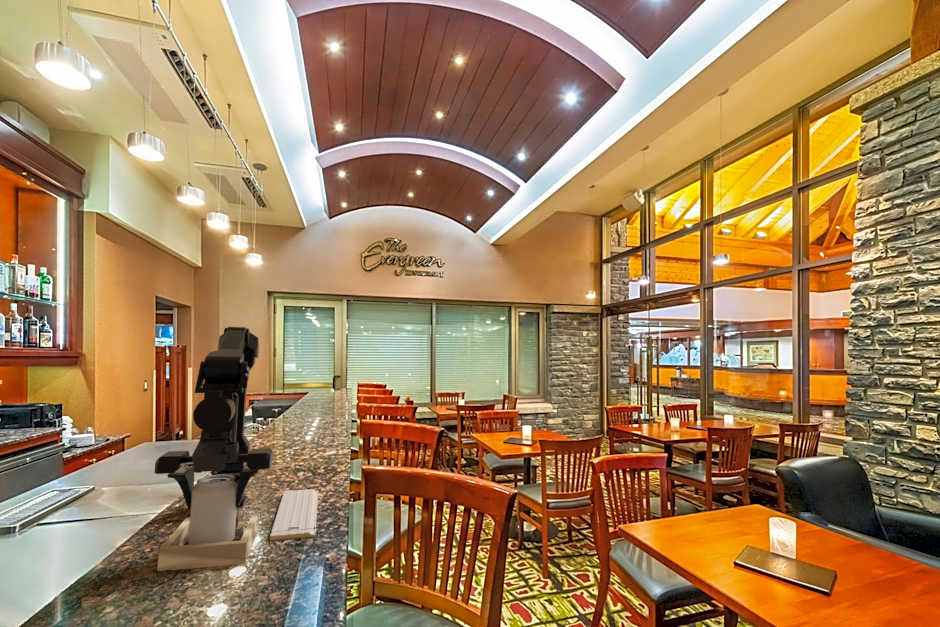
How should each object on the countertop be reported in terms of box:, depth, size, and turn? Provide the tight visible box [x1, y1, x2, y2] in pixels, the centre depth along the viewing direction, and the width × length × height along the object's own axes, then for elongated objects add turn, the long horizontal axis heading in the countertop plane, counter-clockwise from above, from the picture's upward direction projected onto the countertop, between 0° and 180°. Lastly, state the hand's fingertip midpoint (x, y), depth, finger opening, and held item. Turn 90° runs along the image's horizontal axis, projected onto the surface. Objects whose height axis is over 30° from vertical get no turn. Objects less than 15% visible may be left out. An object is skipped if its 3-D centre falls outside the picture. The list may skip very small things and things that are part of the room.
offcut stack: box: [232, 511, 245, 541], centre depth 91 cm, size 4×8×4 cm, turn 107°
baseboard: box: [269, 488, 322, 541], centre depth 106 cm, size 30×3×10 cm
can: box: [187, 474, 238, 545], centre depth 85 cm, size 8×8×12 cm
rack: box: [156, 512, 260, 572], centre depth 86 cm, size 15×13×4 cm
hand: (214, 507), depth 85 cm, fingers closed on can, 7 cm apart
